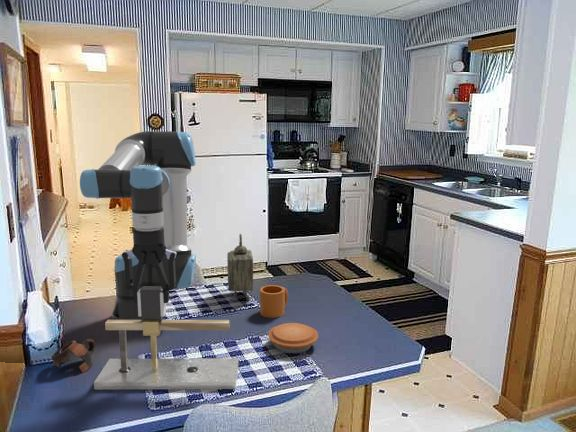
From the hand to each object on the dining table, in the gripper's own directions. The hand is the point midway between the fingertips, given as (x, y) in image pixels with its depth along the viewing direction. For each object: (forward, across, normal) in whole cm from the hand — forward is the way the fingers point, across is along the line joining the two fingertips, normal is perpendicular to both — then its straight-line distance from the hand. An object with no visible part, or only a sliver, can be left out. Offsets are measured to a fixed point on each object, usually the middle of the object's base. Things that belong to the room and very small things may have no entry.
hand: (152, 314), depth 121 cm
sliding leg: (+16, 0, 0) cm, 16 cm away
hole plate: (+18, +4, 0) cm, 18 cm away
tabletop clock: (+18, +19, +58) cm, 64 cm away
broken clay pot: (+18, -23, +6) cm, 30 cm away
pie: (+18, +38, +18) cm, 46 cm away
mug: (+18, +33, +43) cm, 57 cm away
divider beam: (+16, +4, 0) cm, 17 cm away
